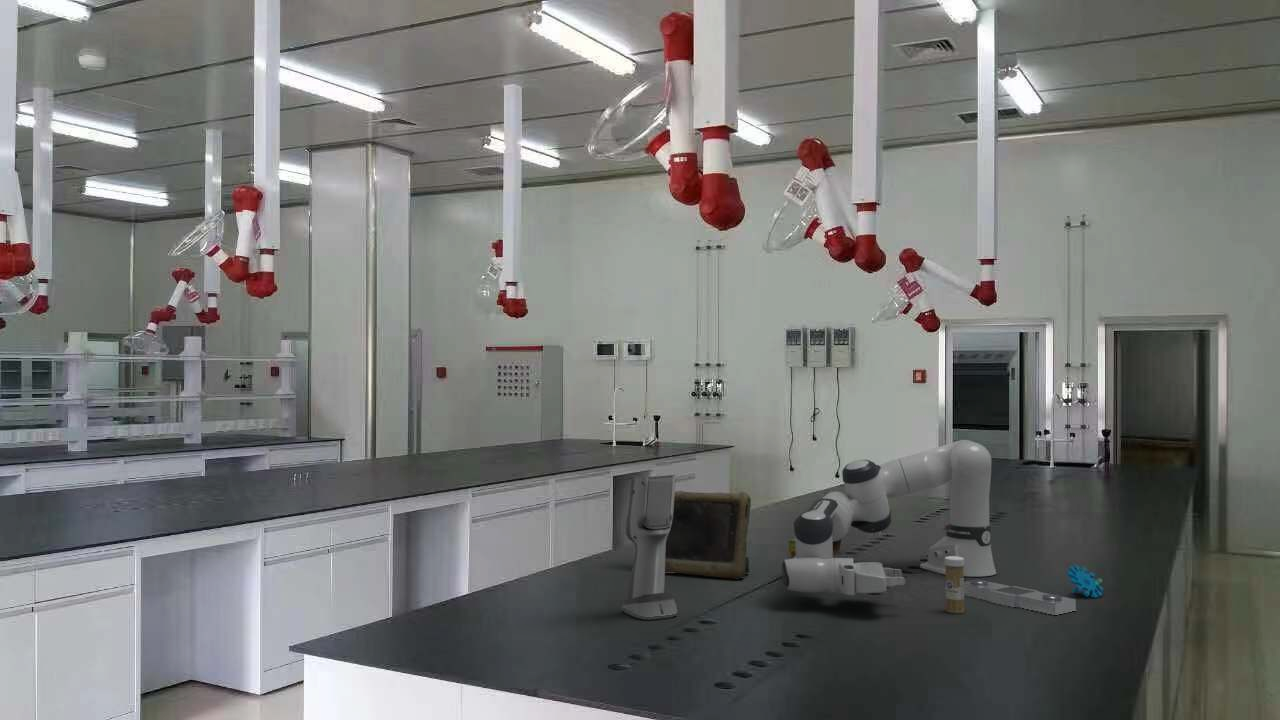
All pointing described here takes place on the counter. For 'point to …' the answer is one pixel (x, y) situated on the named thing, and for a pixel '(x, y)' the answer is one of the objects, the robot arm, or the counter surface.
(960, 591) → the sprinkles bottle
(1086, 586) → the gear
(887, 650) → the counter surface
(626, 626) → the counter surface
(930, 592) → the counter surface
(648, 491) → the thermal camera
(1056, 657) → the counter surface
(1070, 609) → the grey long flat block
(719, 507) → the brown frame
